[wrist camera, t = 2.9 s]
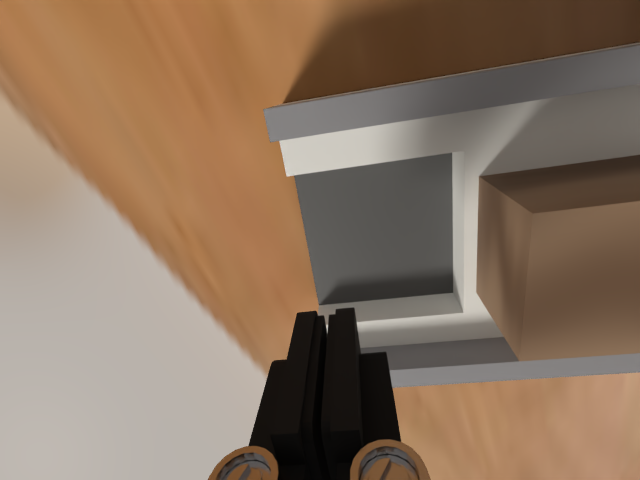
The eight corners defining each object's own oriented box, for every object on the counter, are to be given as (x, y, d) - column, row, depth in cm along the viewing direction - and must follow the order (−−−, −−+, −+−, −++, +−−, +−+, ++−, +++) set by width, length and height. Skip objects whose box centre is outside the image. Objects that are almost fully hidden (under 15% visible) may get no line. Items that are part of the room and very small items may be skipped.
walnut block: (479, 176, 13) (532, 213, 9) (661, 151, 12) (801, 181, 8) (475, 292, 15) (519, 361, 11) (632, 277, 14) (734, 346, 10)
